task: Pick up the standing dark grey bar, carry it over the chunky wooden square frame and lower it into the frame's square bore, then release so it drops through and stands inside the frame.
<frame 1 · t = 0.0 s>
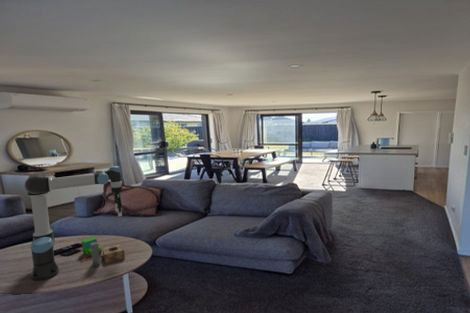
hand: (118, 214, 224), 28 cm above the table, fingers open, 13 cm apart
dark grey bar: (96, 264, 203), on the table
toy car: (92, 253, 221), on the table
wooden square frame: (113, 256, 213), on the table
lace: (96, 257, 213), on the table
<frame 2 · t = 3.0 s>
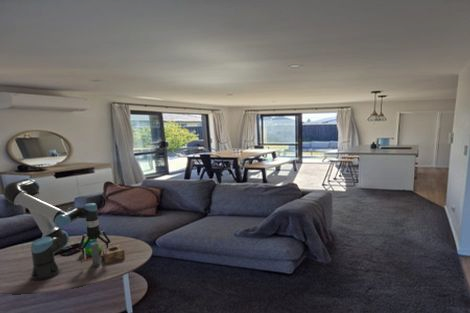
hand: (96, 255, 203), 6 cm above the table, fingers open, 13 cm apart
nothing on the table moved.
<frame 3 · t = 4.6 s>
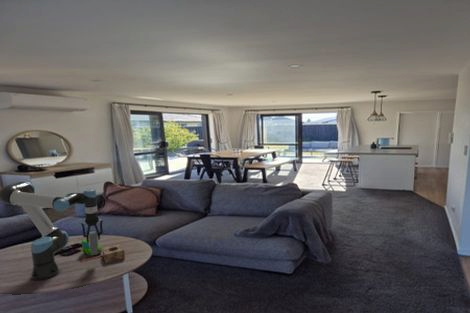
hand: (93, 245, 202), 14 cm above the table, fingers closed on dark grey bar, 4 cm apart
dark grey bar: (94, 253, 202), point 8 cm above the table, touching gripper
everything else where it was.
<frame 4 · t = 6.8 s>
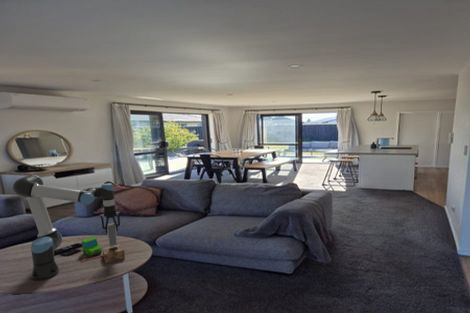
hand: (112, 236, 212), 16 cm above the table, fingers closed on dark grey bar, 4 cm apart
dark grey bar: (112, 244, 212), point 10 cm above the table, touching gripper
everything else where it was.
when the fingers open (8 cm above the table, at t = 9.1 s): dark grey bar drops 2 cm, resting in wooden square frame.
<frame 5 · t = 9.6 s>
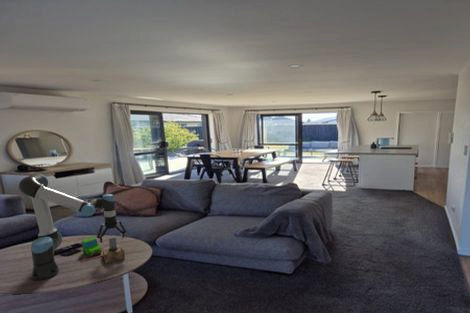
hand: (112, 244, 212), 9 cm above the table, fingers open, 12 cm apart
dark grey bar: (113, 257, 213), resting in wooden square frame
everything else where it was.
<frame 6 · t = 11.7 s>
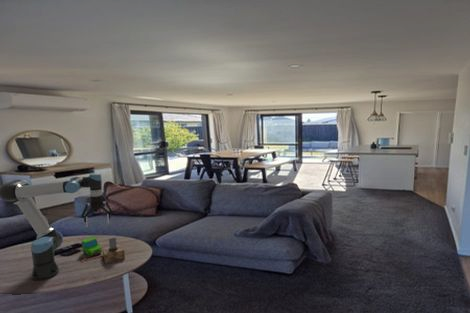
hand: (97, 224, 207), 26 cm above the table, fingers open, 13 cm apart
nothing on the table moved.
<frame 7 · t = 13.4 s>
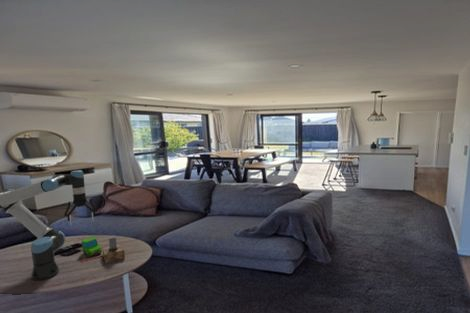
hand: (82, 223, 203), 29 cm above the table, fingers open, 13 cm apart
nothing on the table moved.
at the end: dark grey bar 0.1 cm off-centre on the wooden square frame, point 0.0 cm above the wooden square frame's base; dark grey bar tilted 0°; the gripper is holding nothing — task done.
